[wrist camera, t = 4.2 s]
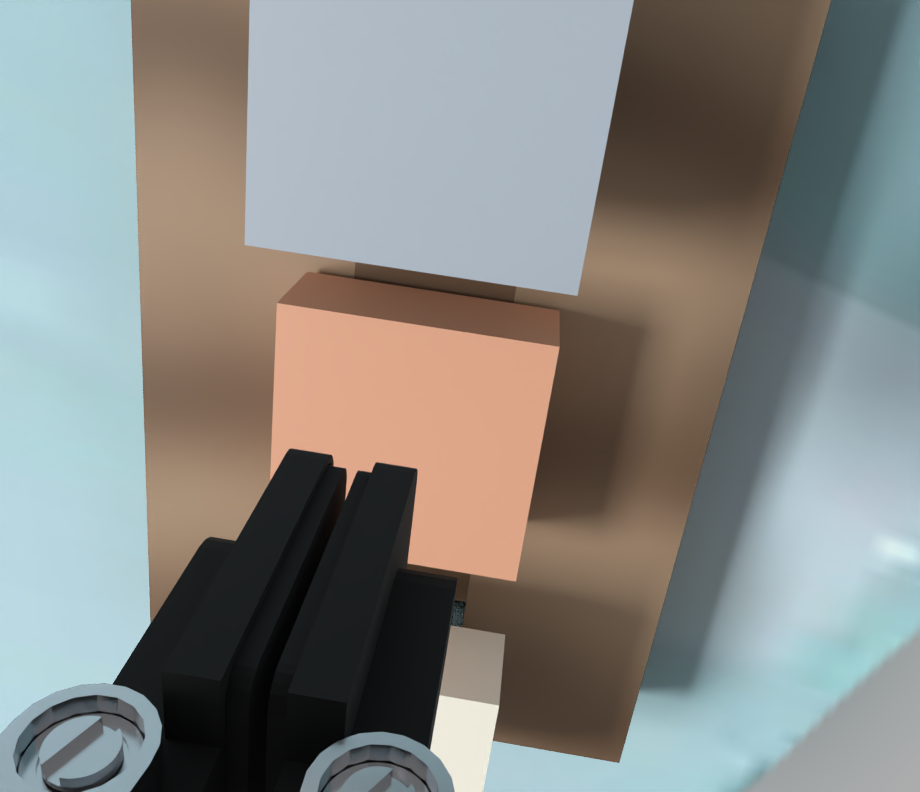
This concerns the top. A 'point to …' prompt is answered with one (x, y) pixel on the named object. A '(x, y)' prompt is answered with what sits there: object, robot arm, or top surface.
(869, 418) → the top surface
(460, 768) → the cream key
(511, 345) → the terracotta key
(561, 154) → the slate key
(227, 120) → the walnut board
